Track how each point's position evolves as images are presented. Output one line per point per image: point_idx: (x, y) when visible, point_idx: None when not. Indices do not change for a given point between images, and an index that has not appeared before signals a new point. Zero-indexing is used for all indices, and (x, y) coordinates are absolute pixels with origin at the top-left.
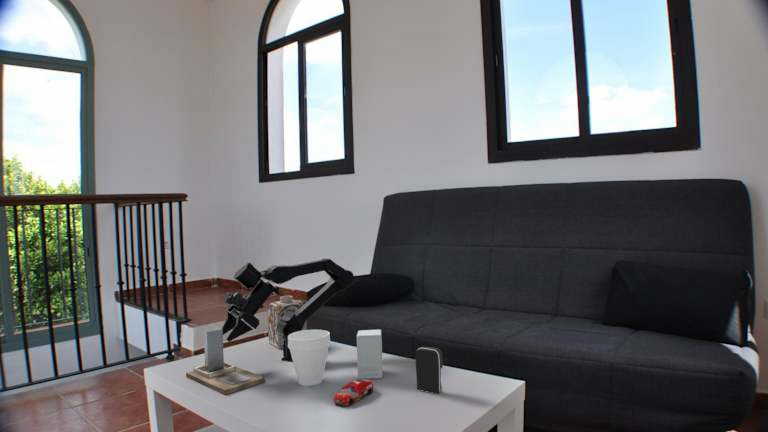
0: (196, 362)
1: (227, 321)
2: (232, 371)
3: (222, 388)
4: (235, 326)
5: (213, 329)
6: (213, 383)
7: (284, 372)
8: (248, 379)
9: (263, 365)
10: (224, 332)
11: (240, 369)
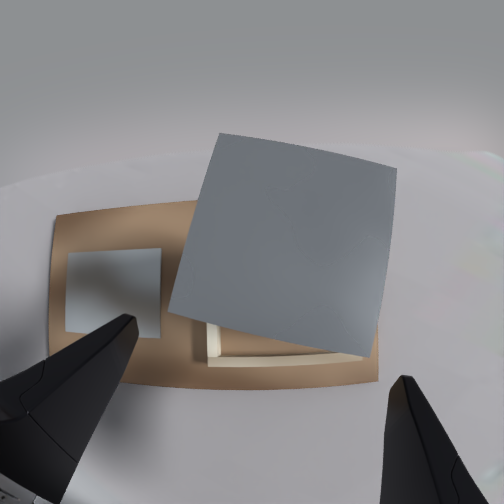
0: (499, 305)
1: (430, 496)
2: (204, 342)
3: (72, 217)
4: (18, 385)
5: (266, 229)
6: (134, 215)
7: (91, 464)
8: (65, 321)
9: (226, 486)
10: (392, 420)
11: (202, 381)
